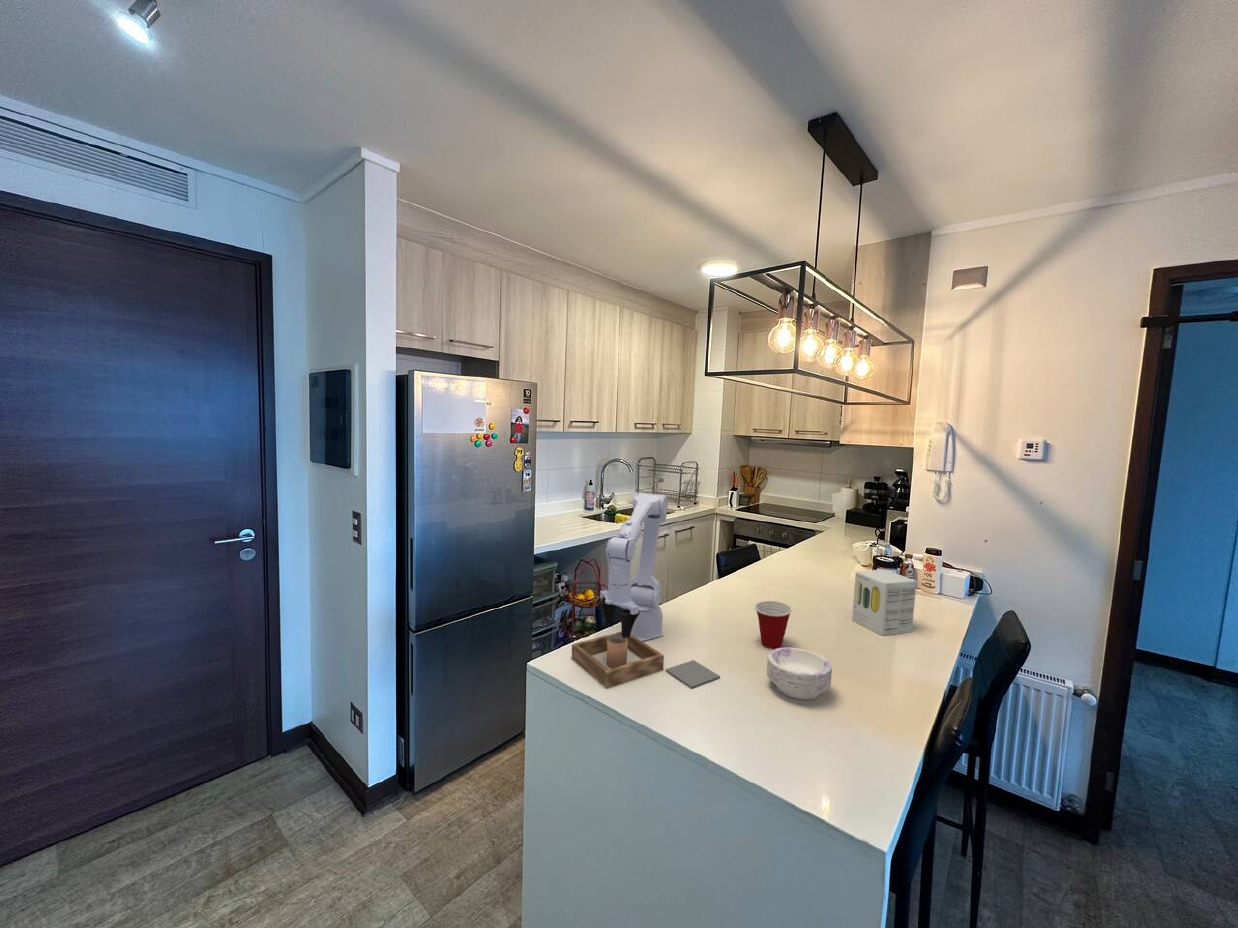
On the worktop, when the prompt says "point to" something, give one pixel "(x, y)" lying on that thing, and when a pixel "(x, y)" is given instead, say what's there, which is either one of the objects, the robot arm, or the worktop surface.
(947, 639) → the worktop surface
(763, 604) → the plastic cup
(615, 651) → the terracotta pot
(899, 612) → the supplement box
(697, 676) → the slate pad
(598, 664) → the brown wooden square frame
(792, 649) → the paper bowls
